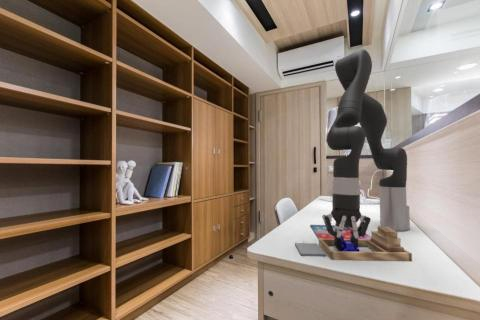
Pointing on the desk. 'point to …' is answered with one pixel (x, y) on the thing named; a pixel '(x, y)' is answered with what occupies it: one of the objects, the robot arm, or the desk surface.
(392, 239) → the offcut stack
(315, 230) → the tablet
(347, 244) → the cable holder
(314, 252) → the felt pad
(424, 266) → the desk surface
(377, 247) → the rack
